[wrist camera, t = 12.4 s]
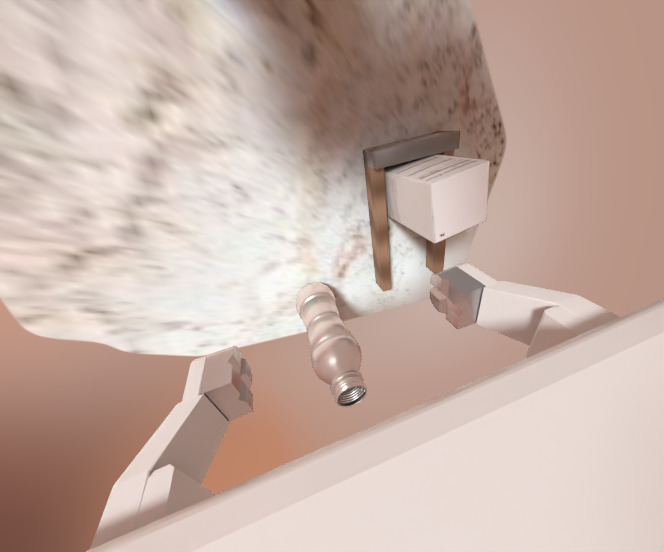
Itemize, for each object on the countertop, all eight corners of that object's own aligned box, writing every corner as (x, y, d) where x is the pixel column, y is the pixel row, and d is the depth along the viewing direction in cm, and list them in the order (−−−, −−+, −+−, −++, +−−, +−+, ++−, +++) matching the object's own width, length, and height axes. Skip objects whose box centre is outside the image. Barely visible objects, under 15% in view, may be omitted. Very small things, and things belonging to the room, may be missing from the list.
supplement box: (425, 198, 40) (488, 222, 30) (384, 215, 39) (433, 246, 29) (421, 150, 36) (492, 158, 25) (376, 168, 35) (429, 184, 25)
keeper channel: (363, 150, 34) (375, 152, 30) (440, 131, 35) (460, 131, 32) (376, 282, 46) (386, 294, 42) (432, 263, 48) (446, 273, 44)
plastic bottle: (337, 286, 44) (391, 380, 27) (316, 314, 45) (355, 419, 29) (307, 271, 40) (348, 369, 24) (286, 302, 42) (310, 412, 26)
